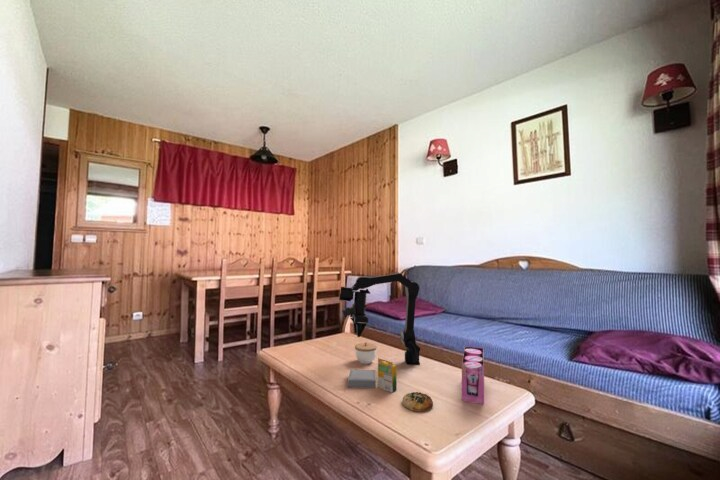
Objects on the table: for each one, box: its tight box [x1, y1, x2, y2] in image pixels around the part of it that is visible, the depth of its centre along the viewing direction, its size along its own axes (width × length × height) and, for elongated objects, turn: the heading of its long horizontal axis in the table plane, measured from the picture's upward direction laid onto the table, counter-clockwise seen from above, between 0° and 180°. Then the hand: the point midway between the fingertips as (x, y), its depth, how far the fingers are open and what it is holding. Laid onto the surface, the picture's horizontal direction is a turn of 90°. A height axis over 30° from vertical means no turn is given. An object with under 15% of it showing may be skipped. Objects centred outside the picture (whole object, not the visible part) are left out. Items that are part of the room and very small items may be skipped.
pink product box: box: [461, 346, 485, 405], centre depth 121 cm, size 24×8×14 cm, turn 158°
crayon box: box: [377, 358, 397, 394], centre depth 122 cm, size 7×3×12 cm, turn 48°
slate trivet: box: [347, 369, 377, 389], centre depth 128 cm, size 11×11×3 cm
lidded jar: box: [354, 342, 378, 365], centre depth 152 cm, size 11×11×9 cm
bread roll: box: [401, 391, 434, 413], centre depth 109 cm, size 11×11×5 cm
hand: (356, 335), depth 148 cm, fingers open, 9 cm apart
